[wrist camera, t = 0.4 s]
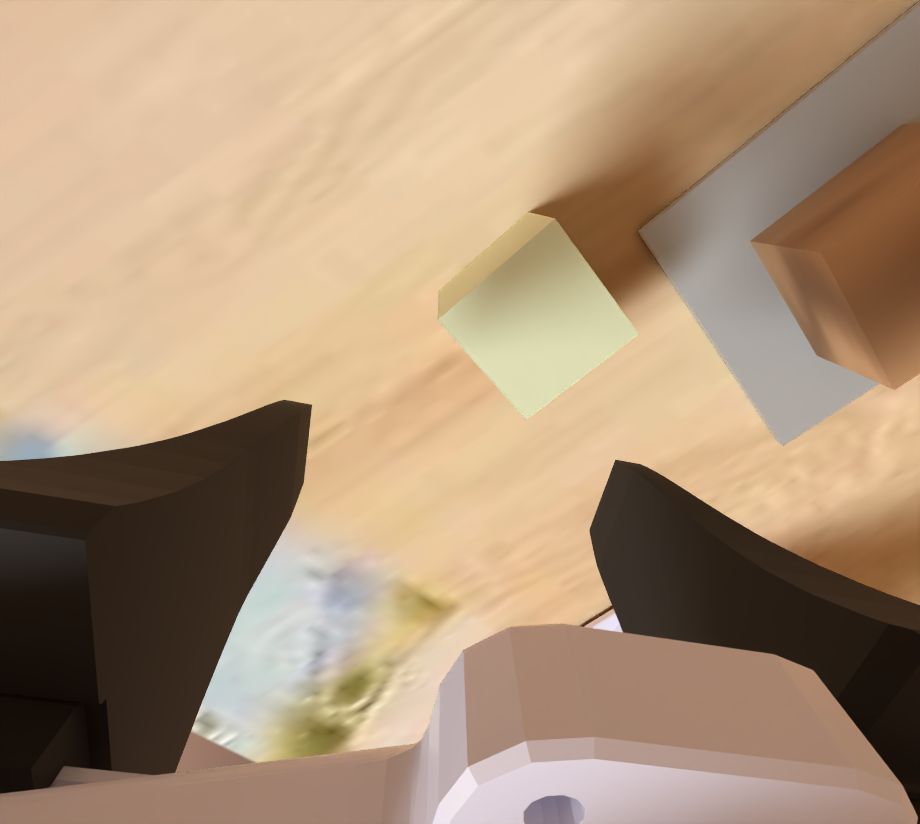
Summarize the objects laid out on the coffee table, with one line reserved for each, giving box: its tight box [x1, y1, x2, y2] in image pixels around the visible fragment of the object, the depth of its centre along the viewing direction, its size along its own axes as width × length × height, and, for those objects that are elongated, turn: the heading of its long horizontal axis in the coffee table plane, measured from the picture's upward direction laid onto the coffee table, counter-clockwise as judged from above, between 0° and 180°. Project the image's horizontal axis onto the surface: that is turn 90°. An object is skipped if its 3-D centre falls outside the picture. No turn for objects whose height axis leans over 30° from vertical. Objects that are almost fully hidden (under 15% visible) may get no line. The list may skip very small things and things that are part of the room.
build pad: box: [637, 1, 920, 446], centre depth 20 cm, size 12×12×1 cm
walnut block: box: [750, 122, 920, 390], centre depth 18 cm, size 6×6×4 cm
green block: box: [438, 212, 639, 420], centre depth 18 cm, size 4×4×5 cm
